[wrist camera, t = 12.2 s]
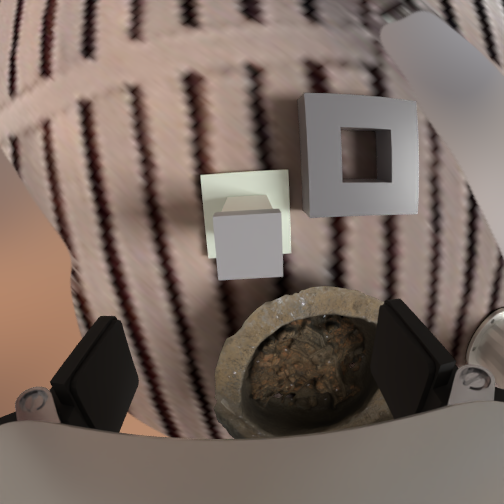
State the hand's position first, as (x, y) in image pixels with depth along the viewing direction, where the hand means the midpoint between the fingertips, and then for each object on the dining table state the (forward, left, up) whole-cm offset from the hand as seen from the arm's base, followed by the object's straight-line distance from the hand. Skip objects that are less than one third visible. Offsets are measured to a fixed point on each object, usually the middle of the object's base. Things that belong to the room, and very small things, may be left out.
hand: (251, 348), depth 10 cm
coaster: (0, 0, -24) cm, 24 cm away
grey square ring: (-12, -6, -24) cm, 28 cm away
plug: (0, 0, -23) cm, 23 cm away
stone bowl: (-7, +19, -24) cm, 32 cm away
